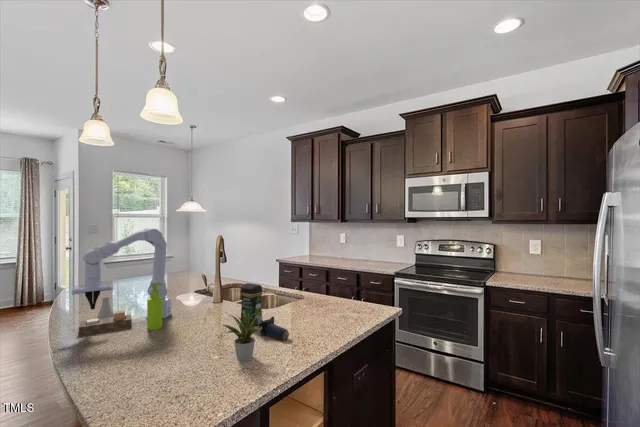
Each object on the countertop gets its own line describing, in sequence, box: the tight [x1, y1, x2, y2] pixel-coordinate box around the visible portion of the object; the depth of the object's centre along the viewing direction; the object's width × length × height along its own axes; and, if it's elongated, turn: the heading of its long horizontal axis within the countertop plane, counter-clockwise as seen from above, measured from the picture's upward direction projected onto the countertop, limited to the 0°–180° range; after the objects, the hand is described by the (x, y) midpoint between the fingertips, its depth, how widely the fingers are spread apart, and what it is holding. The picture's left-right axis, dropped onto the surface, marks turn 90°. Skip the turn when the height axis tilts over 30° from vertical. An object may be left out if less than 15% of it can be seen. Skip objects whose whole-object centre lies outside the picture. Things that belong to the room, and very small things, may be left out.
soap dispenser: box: [146, 283, 164, 331], centre depth 142 cm, size 6×7×20 cm
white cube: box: [86, 317, 99, 325], centre depth 139 cm, size 4×4×4 cm
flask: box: [96, 296, 115, 319], centre depth 157 cm, size 7×7×10 cm
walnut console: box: [78, 313, 133, 337], centre depth 142 cm, size 19×9×4 cm, turn 123°
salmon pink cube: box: [114, 309, 126, 321], centre depth 144 cm, size 4×4×4 cm
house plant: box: [221, 310, 264, 362], centre depth 112 cm, size 14×14×16 cm
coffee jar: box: [240, 282, 263, 327], centre depth 146 cm, size 10×8×19 cm
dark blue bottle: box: [258, 316, 290, 341], centre depth 131 cm, size 9×8×12 cm
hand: (92, 308), depth 139 cm, fingers closed
